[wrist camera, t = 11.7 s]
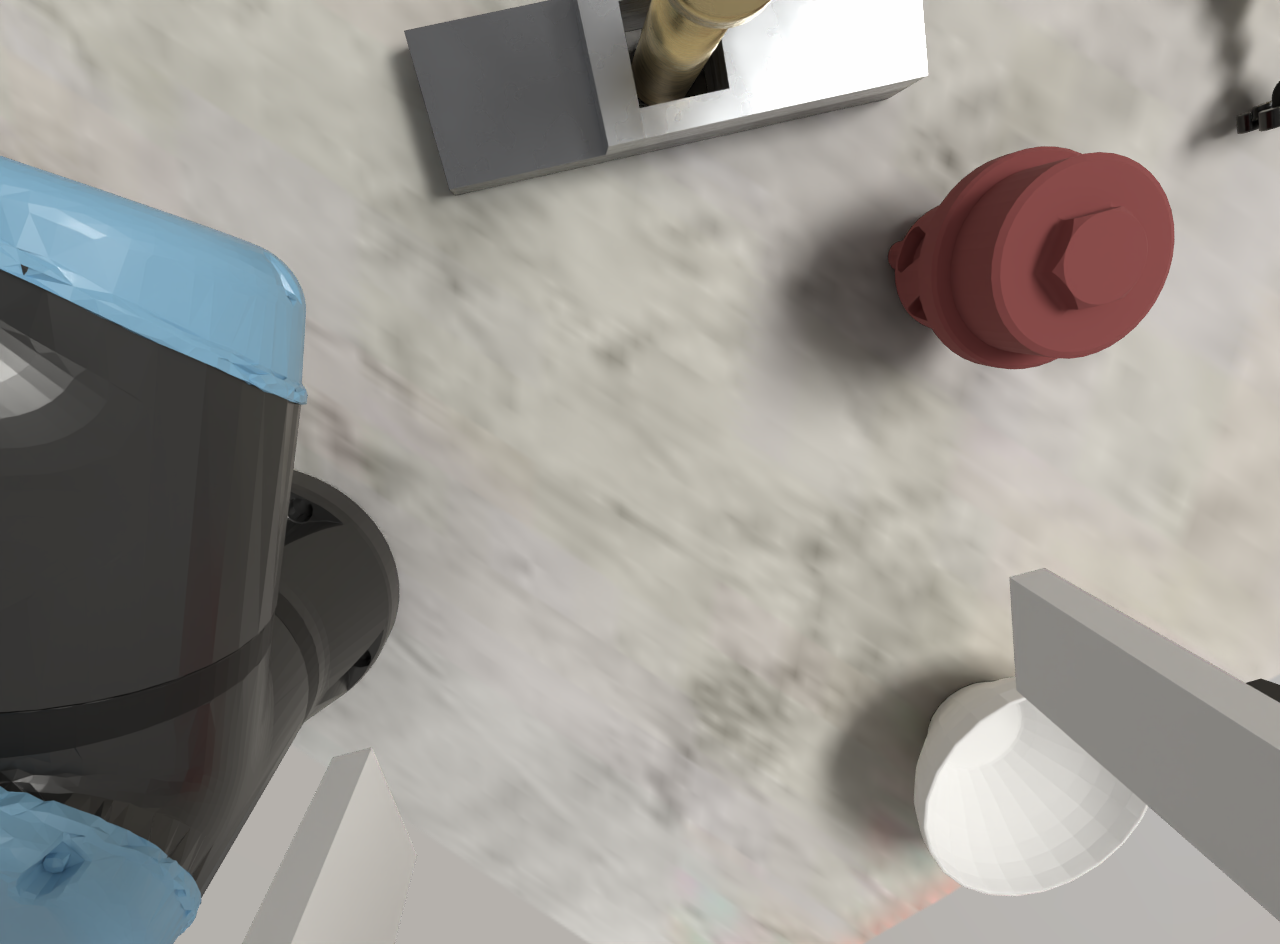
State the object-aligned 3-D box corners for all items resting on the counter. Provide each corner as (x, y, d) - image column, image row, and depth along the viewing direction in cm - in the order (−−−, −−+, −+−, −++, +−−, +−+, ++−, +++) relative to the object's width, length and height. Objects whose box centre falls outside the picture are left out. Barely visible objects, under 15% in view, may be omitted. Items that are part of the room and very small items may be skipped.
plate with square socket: (455, 195, 34) (442, 183, 30) (413, 46, 32) (393, 13, 28) (888, 98, 35) (928, 75, 32) (873, -51, 33) (914, -96, 30)
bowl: (828, 762, 47) (873, 841, 40) (969, 590, 45) (1041, 643, 38) (980, 844, 51) (1044, 928, 44) (1118, 690, 48) (1207, 754, 42)
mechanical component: (977, 372, 40) (832, 328, 38) (1043, 207, 38) (893, 151, 36) (1149, 406, 28) (952, 345, 27) (1261, 169, 26) (1054, 84, 24)
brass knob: (628, 131, 34) (672, 28, 21) (607, 33, 33) (641, -146, 19) (711, 113, 35) (809, -2, 21) (695, 15, 33) (788, -175, 20)
